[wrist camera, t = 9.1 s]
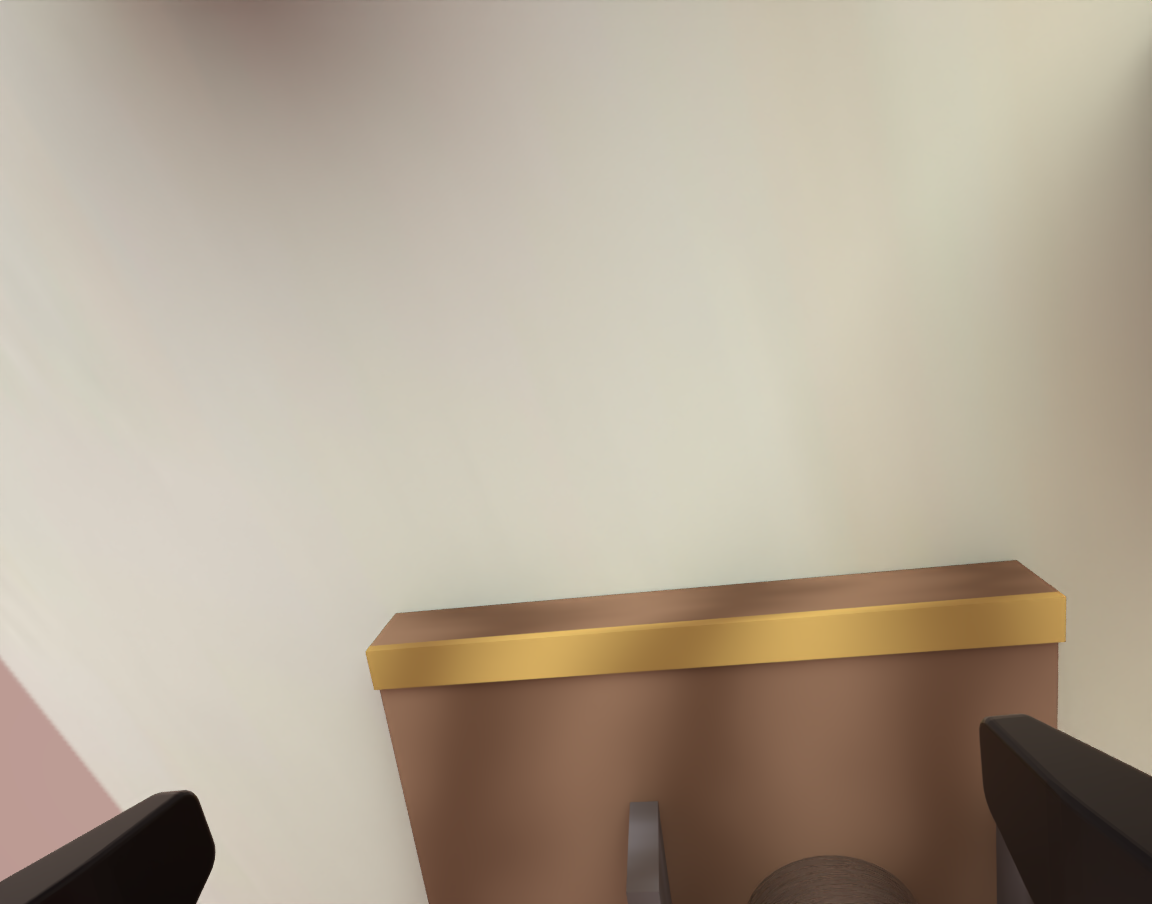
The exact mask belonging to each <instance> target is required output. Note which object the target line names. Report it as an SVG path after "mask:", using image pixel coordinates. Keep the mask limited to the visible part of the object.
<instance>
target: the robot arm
mask: <svg viewBox="0 0 1152 904" xmlns="http://www.w3.org/2000/svg"><path fill="white" fill-rule="evenodd" d="M979 740H980V753H981V767H982V781H983V790H984V794H985V798H986V802H987V805H988V807H989V810H990V812H991V815H992V817H993V819H994V821H995V823H996V825H997V827H998V830H999V832H1000V834H1001V836H1002V838H1003V840H1004V842H1005V844H1006V846H1007V849H1008V851H1009V853H1010V855H1011V857H1012V859H1013V861H1014V863H1015V865H1016V868H1017V870H1018V872H1019V874H1020V876H1021V878H1022V880H1023V882H1024V885H1025V887H1026V889H1027V891H1028V893H1029V895H1030V897H1031V899H1032V901H1033V904H1152V776H1150V775H1148V774H1146V773H1144V772H1142V771H1140V770H1138V769H1136V768H1134V767H1132V766H1130V765H1128V764H1126V763H1124V762H1122V761H1120V760H1118V759H1116V758H1114V757H1112V756H1110V755H1108V754H1106V753H1104V752H1102V751H1100V750H1098V749H1096V748H1094V747H1092V746H1090V745H1088V744H1086V743H1084V742H1082V741H1080V740H1078V739H1076V738H1074V737H1072V736H1070V735H1068V734H1066V733H1064V732H1062V731H1060V730H1058V729H1056V728H1054V727H1052V726H1050V725H1048V724H1046V723H1044V722H1042V721H1040V720H1038V719H1036V718H1034V717H1031V716H1029V715H1026V714H1008V715H998V716H987V717H985V718H984V719H983V720H982V721H981V722H980V726H979ZM214 860H215V844H214V841H213V838H212V835H211V832H210V830H209V827H208V824H207V821H206V819H205V816H204V813H203V810H202V807H201V805H200V802H199V800H198V798H197V796H196V795H195V794H194V793H193V792H191V791H187V790H181V791H170V792H161V793H157V794H155V795H152V796H150V797H149V798H147V799H145V800H143V801H142V802H140V803H138V804H136V805H135V806H133V807H131V808H129V809H128V810H126V811H124V812H122V813H121V814H119V815H117V816H115V817H114V818H112V819H110V820H108V821H107V822H105V823H103V824H101V825H99V826H98V827H96V828H94V829H93V830H91V831H89V832H87V833H85V834H84V835H82V836H80V837H78V838H77V839H75V840H73V841H71V842H70V843H68V844H66V845H64V846H63V847H61V848H59V849H57V850H56V851H54V852H52V853H50V854H48V855H47V856H45V857H43V858H42V859H40V860H38V861H36V862H35V863H33V864H31V865H29V866H27V867H26V868H24V869H22V870H20V871H19V872H17V873H15V874H13V875H12V876H10V877H8V878H6V879H5V880H3V881H1V882H0V904H196V903H197V901H198V898H199V896H200V894H201V892H202V890H203V888H204V886H205V883H206V881H207V879H208V877H209V875H210V873H211V870H212V868H213V864H214Z"/></svg>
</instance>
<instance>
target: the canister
mask: <svg viewBox="0 0 1152 904" xmlns="http://www.w3.org/2000/svg"><path fill="white" fill-rule="evenodd" d="M748 904H917V902H916V899H915V898H914V896H913V895H912V893H911V892H910V890H909V889H908V888H907V887H906V886H905V885H904V884H903V883H902V882H901V881H900V880H899V879H898V878H897V877H895V876H894V875H893V874H891V873H890V872H888V871H887V870H885V869H883V868H881V867H879V866H877V865H875V864H873V863H870V862H867V861H865V860H861V859H857V858H853V857H847V856H839V855H823V856H813V857H808V858H803V859H800V860H797V861H794V862H791V863H789V864H787V865H784V866H782V867H781V868H779V869H777V870H776V871H774V872H772V873H771V874H770V875H769V876H767V877H766V878H765V879H764V880H763V881H762V882H761V883H760V884H759V885H758V886H757V888H756V889H755V891H754V892H753V894H752V896H751V898H750V900H749V902H748Z"/></svg>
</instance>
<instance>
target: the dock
mask: <svg viewBox="0 0 1152 904" xmlns="http://www.w3.org/2000/svg"><path fill="white" fill-rule="evenodd" d="M1065 641H1066V596H1064V595H1063V594H1062V593H1060V592H1059V591H1058V590H1056V589H1055V588H1053V587H1052V586H1051V585H1049V584H1048V583H1047V582H1045V581H1044V580H1043V579H1041V578H1040V577H1039V576H1037V575H1036V574H1035V573H1033V572H1032V571H1030V570H1029V569H1028V568H1026V567H1025V566H1024V565H1022V564H1021V563H1020V562H1018V561H1017V560H1013V561H1001V562H989V563H978V564H966V565H955V566H943V567H931V568H920V569H908V570H896V571H885V572H873V573H861V574H850V575H838V576H826V577H815V578H803V579H791V580H780V581H768V582H756V583H745V584H733V585H721V586H710V587H698V588H687V589H675V590H663V591H652V592H640V593H628V594H617V595H605V596H593V597H582V598H570V599H558V600H547V601H535V602H523V603H512V604H500V605H488V606H477V607H465V608H453V609H442V610H430V611H419V612H407V613H396V614H395V615H394V616H393V618H392V619H391V620H390V621H389V623H388V624H387V625H386V626H385V628H384V629H383V630H382V631H381V633H380V634H379V635H378V636H377V638H376V639H375V640H374V641H373V643H372V644H371V645H370V647H369V648H368V649H367V650H366V656H367V660H368V665H369V669H370V673H371V678H372V682H373V686H374V690H380V693H381V697H382V701H383V706H384V710H385V714H386V719H387V723H388V728H389V732H390V736H391V741H392V745H393V749H394V754H395V758H396V762H397V767H398V771H399V775H400V780H401V784H402V788H403V793H404V797H405V802H406V806H407V810H408V815H409V819H410V823H411V828H412V832H413V836H414V841H415V845H416V849H417V854H418V858H419V863H420V867H421V871H422V876H423V880H424V884H425V889H426V893H427V897H428V902H429V904H748V902H749V900H750V898H751V896H752V894H753V892H754V891H755V889H756V888H757V886H758V885H759V884H760V883H761V882H762V881H763V880H764V879H765V878H766V877H767V876H769V875H770V874H771V873H772V872H774V871H776V870H777V869H779V868H781V867H782V866H784V865H787V864H789V863H791V862H794V861H797V860H800V859H803V858H808V857H813V856H823V855H839V856H847V857H853V858H857V859H861V860H865V861H867V862H870V863H873V864H875V865H877V866H879V867H881V868H883V869H885V870H887V871H888V872H890V873H891V874H893V875H894V876H895V877H897V878H898V879H899V880H900V881H901V882H902V883H903V884H904V885H905V886H906V887H907V888H908V889H909V890H910V892H911V893H912V895H913V896H914V898H915V899H916V902H917V904H1033V901H1032V899H1031V897H1030V895H1029V893H1028V891H1027V889H1026V887H1025V885H1024V882H1023V880H1022V878H1021V876H1020V874H1019V872H1018V870H1017V868H1016V865H1015V863H1014V861H1013V859H1012V857H1011V855H1010V853H1009V851H1008V849H1007V846H1006V844H1005V842H1004V840H1003V838H1002V836H1001V834H1000V832H999V830H998V827H997V825H996V823H995V821H994V819H993V817H992V815H991V812H990V810H989V807H988V805H987V802H986V798H985V794H984V790H983V781H982V767H981V753H980V740H979V726H980V722H981V721H982V720H983V719H984V718H985V717H987V716H998V715H1008V714H1026V715H1029V716H1031V717H1034V718H1036V719H1038V720H1040V721H1042V722H1044V723H1046V724H1048V725H1050V726H1052V727H1054V728H1056V729H1057V708H1058V642H1065Z"/></svg>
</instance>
